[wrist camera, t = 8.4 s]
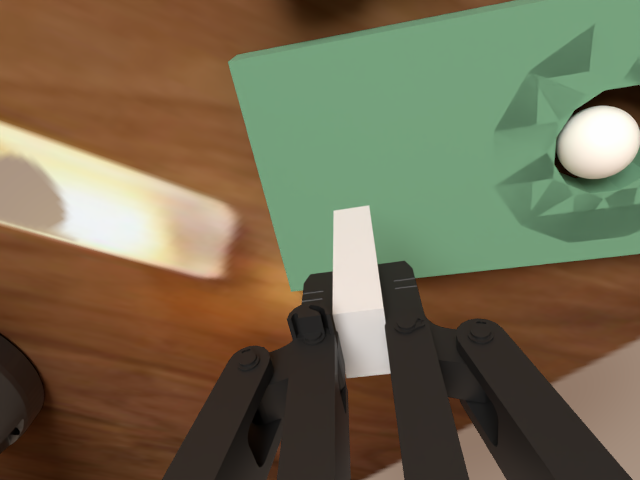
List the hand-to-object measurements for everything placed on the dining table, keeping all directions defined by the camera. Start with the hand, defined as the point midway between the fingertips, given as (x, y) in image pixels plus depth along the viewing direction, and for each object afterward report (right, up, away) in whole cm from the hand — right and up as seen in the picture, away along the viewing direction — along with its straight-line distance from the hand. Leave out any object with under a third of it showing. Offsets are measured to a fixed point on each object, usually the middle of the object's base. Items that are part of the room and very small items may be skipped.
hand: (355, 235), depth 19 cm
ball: (+12, +5, +3) cm, 14 cm away
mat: (+7, +5, +6) cm, 10 cm away
